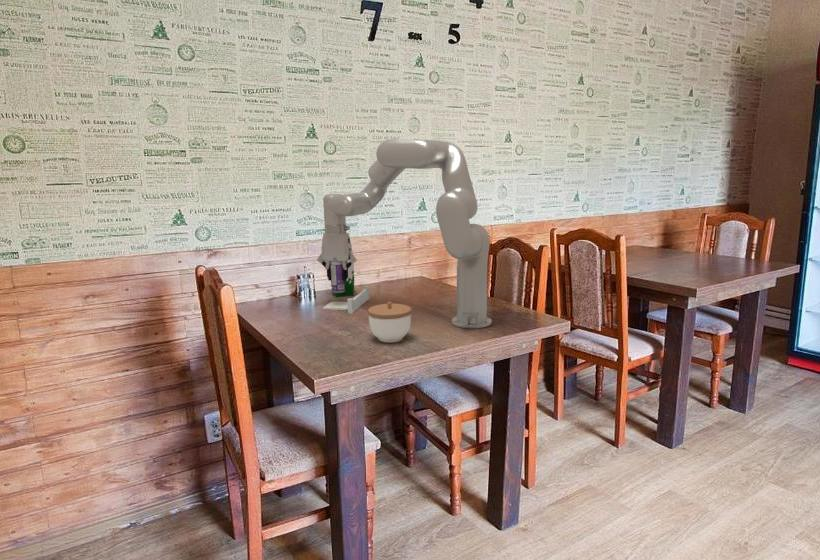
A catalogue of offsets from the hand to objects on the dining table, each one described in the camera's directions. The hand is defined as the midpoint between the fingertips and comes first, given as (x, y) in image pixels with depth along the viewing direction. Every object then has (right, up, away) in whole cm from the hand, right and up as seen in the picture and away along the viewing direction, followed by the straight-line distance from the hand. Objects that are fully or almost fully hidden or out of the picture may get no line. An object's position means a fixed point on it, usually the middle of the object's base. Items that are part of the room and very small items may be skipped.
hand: (337, 279), depth 198 cm
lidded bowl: (+20, -18, -36) cm, 45 cm away
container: (0, -4, +1) cm, 5 cm away
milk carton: (-1, -6, +20) cm, 21 cm away
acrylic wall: (+7, -10, +3) cm, 12 cm away
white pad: (0, -10, +2) cm, 10 cm away
